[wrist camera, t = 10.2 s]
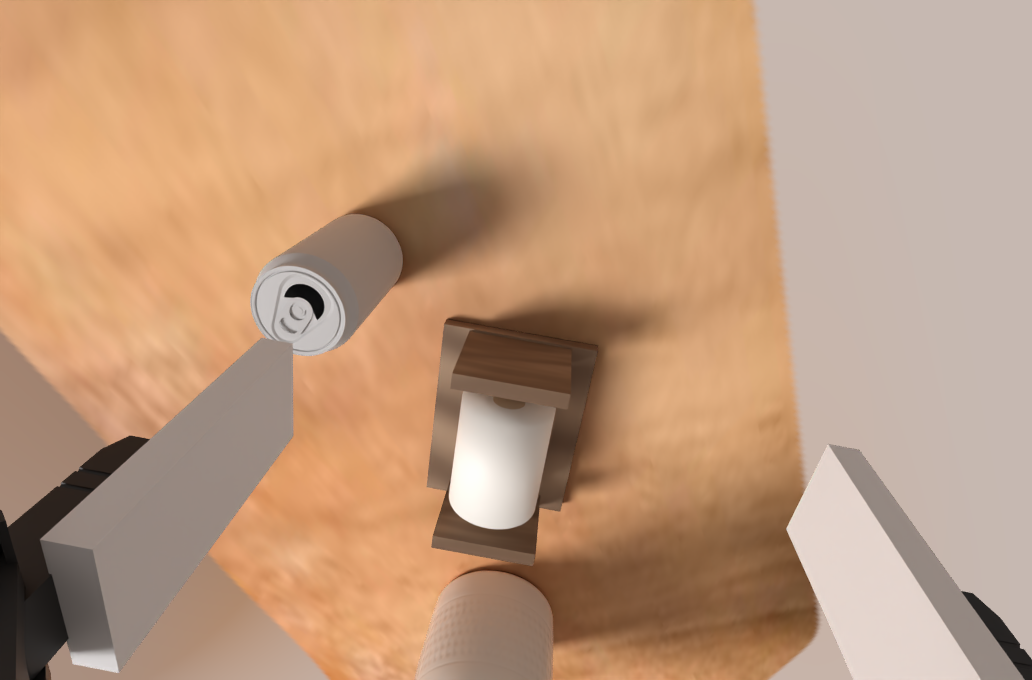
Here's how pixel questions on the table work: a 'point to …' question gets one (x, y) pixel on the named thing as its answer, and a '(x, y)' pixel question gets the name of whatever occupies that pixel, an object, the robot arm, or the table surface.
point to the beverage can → (327, 284)
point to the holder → (516, 376)
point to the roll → (499, 460)
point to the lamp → (489, 631)
